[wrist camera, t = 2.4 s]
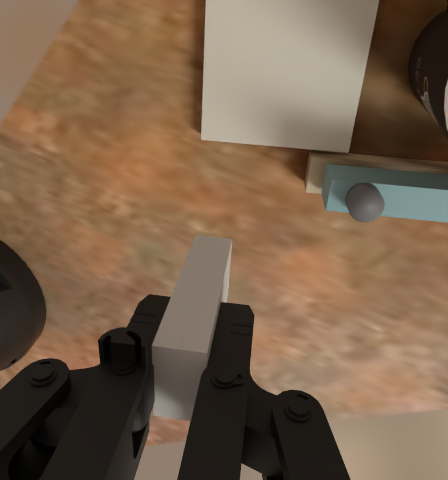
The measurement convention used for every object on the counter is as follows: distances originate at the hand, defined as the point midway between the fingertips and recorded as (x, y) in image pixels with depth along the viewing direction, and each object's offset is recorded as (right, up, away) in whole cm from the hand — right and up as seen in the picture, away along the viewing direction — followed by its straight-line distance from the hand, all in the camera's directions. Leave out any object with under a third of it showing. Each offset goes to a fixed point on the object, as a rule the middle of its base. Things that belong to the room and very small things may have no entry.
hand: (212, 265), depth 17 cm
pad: (+4, +12, +10) cm, 16 cm away
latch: (+14, +4, +10) cm, 18 cm away
